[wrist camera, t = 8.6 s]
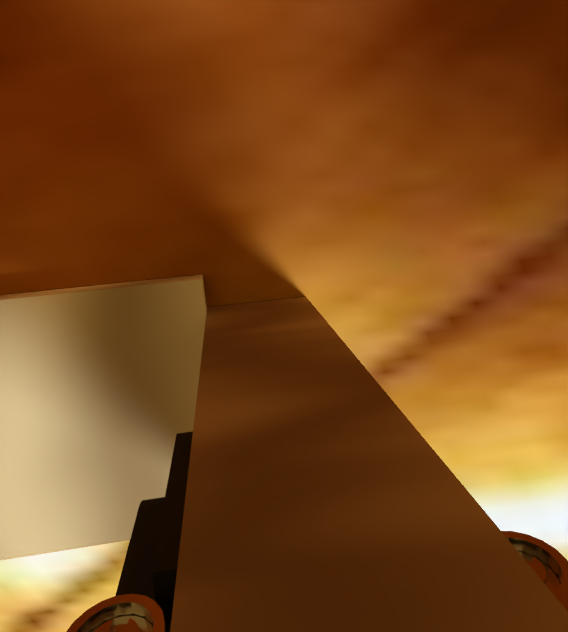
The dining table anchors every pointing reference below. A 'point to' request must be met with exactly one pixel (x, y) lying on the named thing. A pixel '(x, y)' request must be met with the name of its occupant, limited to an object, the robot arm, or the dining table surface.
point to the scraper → (244, 466)
